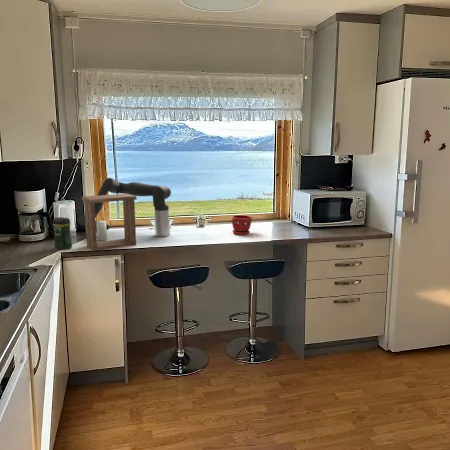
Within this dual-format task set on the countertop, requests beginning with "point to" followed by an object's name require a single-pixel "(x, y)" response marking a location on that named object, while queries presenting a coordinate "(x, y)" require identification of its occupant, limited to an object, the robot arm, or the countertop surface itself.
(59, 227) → the coffee jar
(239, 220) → the plant pot
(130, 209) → the on counter shelf
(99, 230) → the white cylinder
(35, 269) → the countertop surface
